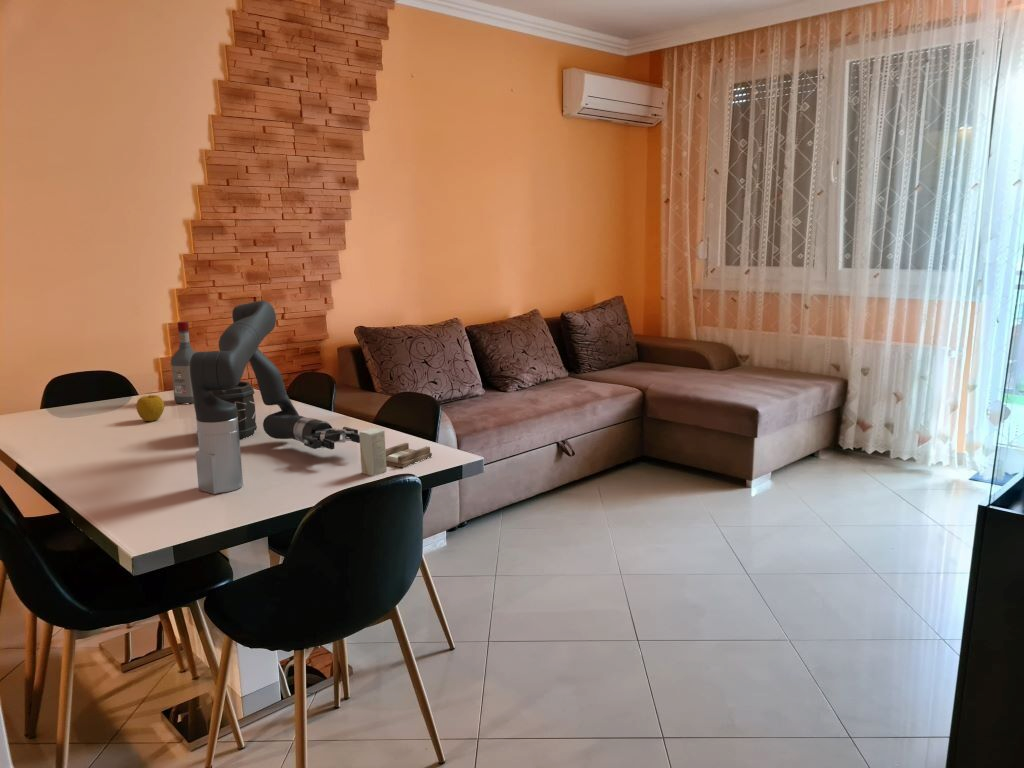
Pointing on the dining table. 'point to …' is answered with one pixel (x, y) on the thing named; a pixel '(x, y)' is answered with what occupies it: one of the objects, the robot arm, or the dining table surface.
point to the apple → (150, 407)
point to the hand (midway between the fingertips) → (347, 442)
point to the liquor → (182, 367)
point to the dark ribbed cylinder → (241, 406)
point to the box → (373, 451)
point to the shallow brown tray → (405, 455)
